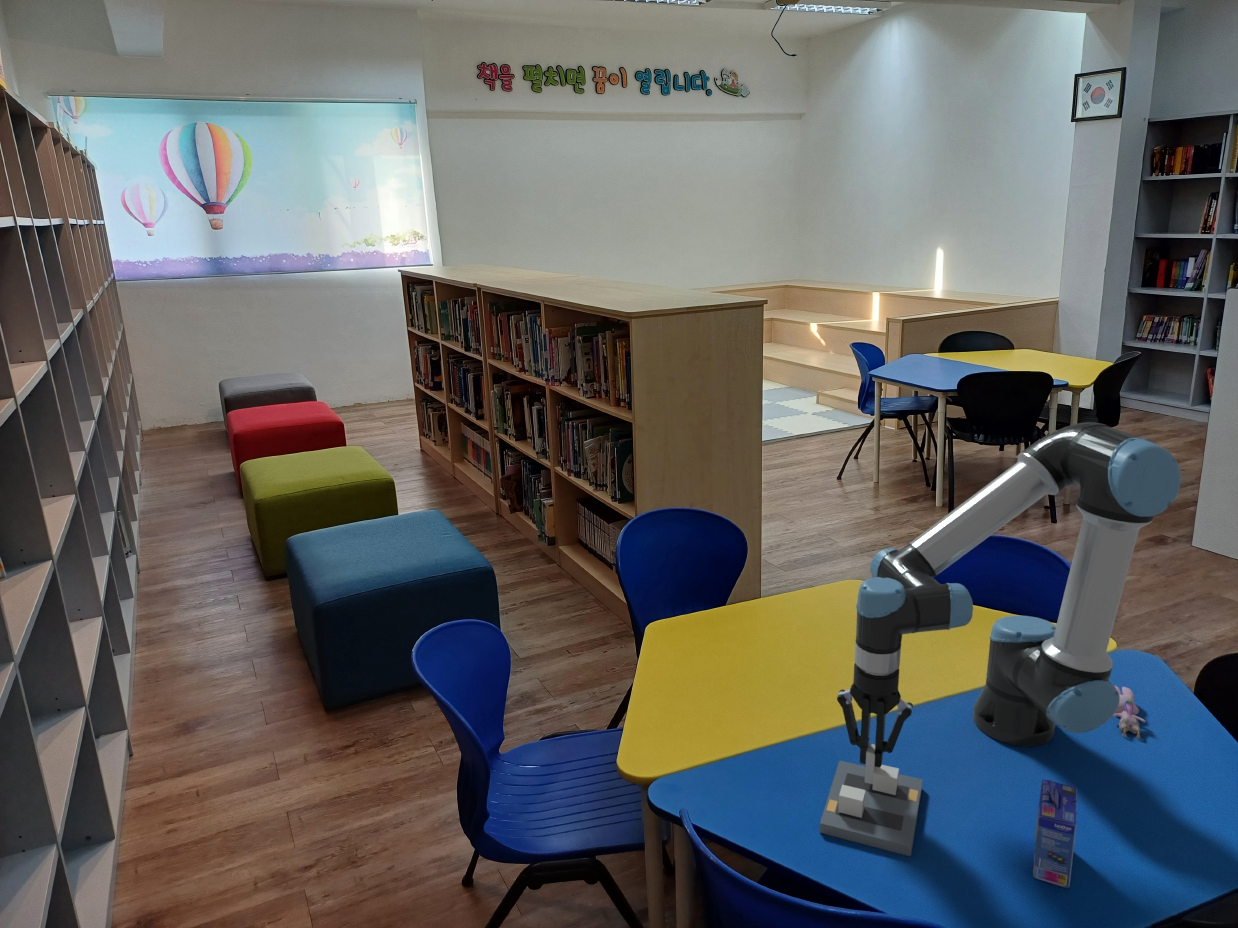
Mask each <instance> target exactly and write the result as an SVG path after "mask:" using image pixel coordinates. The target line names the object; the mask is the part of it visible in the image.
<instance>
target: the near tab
mask: <svg viewBox="0 0 1238 928" xmlns="http://www.w3.org/2000/svg"><path fill="white" fill-rule="evenodd" d="M865 792H866V790H863V789H859V788H855V787H850V786H846V785H842V787H841V790H840V794H839V807H838V812H840V813H844V814H848V815H852V816H856V817H860V818H862V815H863V811H864V807H865Z"/></svg>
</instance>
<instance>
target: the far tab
mask: <svg viewBox="0 0 1238 928" xmlns="http://www.w3.org/2000/svg"><path fill="white" fill-rule="evenodd" d="M899 770H900V768H898V767H895V766H894V767H893V766H890V765H885V764H882V765H881V767H880V768H879V767H875V770H874V774H873V789H872V790H876V791H880V792H884V793H888V794H892V795H896V791H897V786H898V775H899V774H900V773H899V772H900V771H899Z"/></svg>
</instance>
